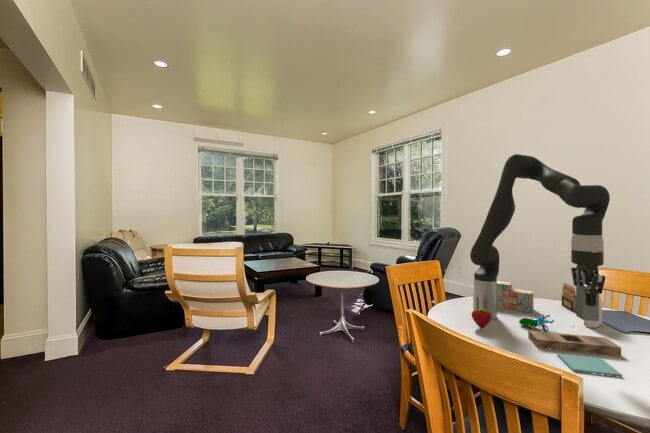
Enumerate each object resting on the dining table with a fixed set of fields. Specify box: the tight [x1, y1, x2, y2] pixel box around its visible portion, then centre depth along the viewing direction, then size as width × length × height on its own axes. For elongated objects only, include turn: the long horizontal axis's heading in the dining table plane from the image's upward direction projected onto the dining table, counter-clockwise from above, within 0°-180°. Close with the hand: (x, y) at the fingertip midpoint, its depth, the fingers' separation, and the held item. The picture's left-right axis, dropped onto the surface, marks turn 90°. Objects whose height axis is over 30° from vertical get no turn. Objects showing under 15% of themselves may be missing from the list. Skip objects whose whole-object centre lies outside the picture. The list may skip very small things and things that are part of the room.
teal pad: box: [556, 353, 623, 378], centre depth 91 cm, size 12×10×1 cm
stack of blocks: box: [497, 280, 535, 313], centre depth 148 cm, size 21×6×12 cm, turn 49°
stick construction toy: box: [518, 313, 555, 332], centre depth 119 cm, size 12×7×8 cm
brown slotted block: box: [527, 330, 622, 357], centre depth 104 cm, size 24×8×3 cm, turn 73°
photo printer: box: [583, 297, 603, 329], centre depth 123 cm, size 10×4×12 cm, turn 123°
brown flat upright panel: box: [561, 282, 576, 313], centre depth 144 cm, size 11×2×12 cm, turn 164°
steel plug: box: [575, 285, 600, 321], centre depth 91 cm, size 4×4×10 cm
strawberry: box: [471, 304, 492, 329], centre depth 121 cm, size 6×8×10 cm
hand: (587, 303), depth 91 cm, fingers closed on steel plug, 4 cm apart
